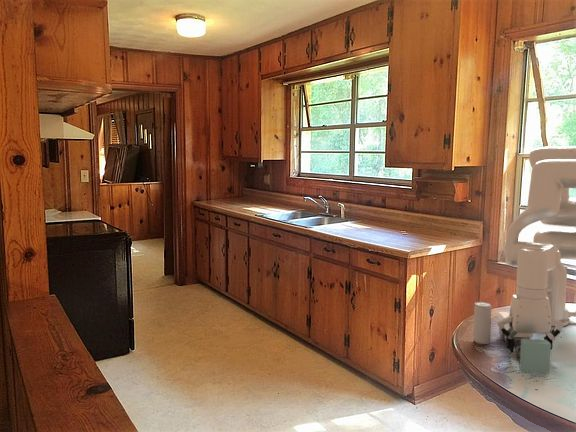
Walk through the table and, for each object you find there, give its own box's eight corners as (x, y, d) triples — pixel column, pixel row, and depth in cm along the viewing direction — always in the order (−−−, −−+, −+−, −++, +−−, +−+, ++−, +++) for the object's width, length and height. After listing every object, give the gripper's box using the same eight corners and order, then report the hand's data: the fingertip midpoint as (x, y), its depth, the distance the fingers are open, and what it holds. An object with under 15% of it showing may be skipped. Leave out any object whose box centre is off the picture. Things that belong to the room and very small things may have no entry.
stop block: (545, 368, 130) (546, 339, 129) (549, 373, 127) (550, 343, 126) (519, 367, 131) (521, 339, 130) (523, 372, 128) (525, 343, 127)
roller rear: (518, 336, 152) (519, 324, 152) (523, 341, 148) (523, 329, 148) (498, 336, 153) (499, 324, 153) (502, 341, 149) (503, 328, 149)
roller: (537, 356, 137) (538, 344, 136) (542, 363, 134) (543, 351, 133) (515, 355, 138) (516, 344, 137) (519, 362, 135) (520, 350, 134)
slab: (518, 323, 153) (518, 312, 152) (532, 337, 141) (532, 325, 141) (498, 322, 154) (498, 312, 153) (510, 336, 142) (511, 325, 141)
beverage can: (491, 345, 146) (492, 306, 145) (474, 344, 147) (475, 306, 146) (488, 339, 151) (489, 301, 149) (472, 338, 152) (473, 301, 150)
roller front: (525, 343, 147) (525, 330, 146) (529, 348, 143) (530, 335, 142) (504, 342, 148) (504, 330, 147) (508, 348, 144) (509, 335, 143)
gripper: (558, 288, 136) (555, 347, 138) (494, 288, 138) (492, 345, 141) (570, 296, 129) (567, 358, 131) (502, 295, 131) (500, 356, 133)
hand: (528, 351), depth 136 cm, fingers open, 9 cm apart
